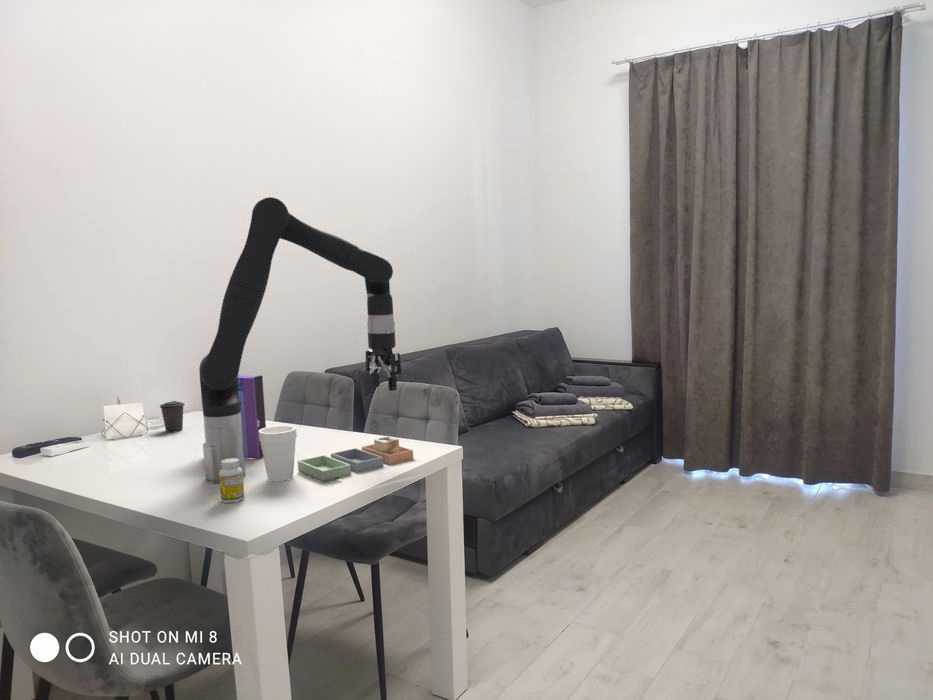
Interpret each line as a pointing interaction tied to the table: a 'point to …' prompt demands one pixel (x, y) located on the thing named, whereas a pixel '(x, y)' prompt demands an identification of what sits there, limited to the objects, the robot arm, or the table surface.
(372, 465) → the slate tray
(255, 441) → the cereal box
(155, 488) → the table surface
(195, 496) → the table surface
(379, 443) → the letter cube
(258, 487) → the table surface
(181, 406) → the coffee cup
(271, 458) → the foam cup
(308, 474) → the sage tray
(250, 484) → the table surface
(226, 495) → the supplement bottle
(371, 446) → the terracotta tray
